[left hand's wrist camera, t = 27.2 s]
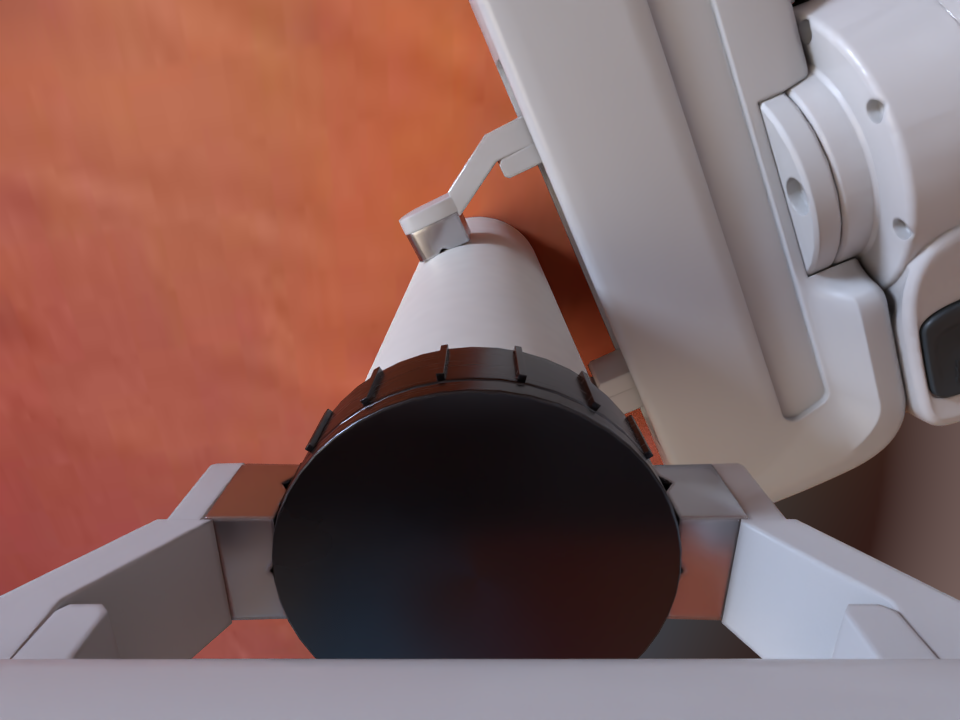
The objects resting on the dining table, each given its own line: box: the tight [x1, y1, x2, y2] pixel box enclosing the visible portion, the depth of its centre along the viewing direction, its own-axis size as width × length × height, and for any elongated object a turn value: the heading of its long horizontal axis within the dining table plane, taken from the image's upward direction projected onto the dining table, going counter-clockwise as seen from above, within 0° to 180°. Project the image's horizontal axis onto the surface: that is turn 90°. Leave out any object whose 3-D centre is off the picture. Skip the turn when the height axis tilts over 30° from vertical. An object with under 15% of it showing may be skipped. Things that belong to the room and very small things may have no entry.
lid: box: [272, 344, 682, 659], centre depth 9 cm, size 6×6×2 cm
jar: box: [365, 217, 591, 381], centre depth 17 cm, size 5×5×17 cm
